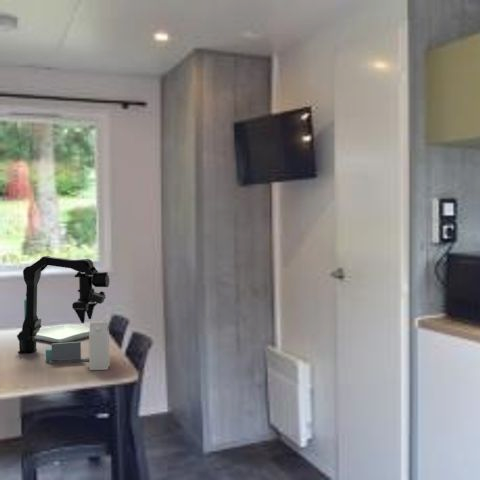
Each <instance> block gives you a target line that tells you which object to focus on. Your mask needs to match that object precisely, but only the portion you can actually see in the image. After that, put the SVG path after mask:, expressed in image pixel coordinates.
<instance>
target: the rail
mask: <svg viewBox="0 0 480 480" xmlns="http://www.w3.org/2000/svg"><path fill="white" fill-rule="evenodd" d="M48 362H49V365H57V364H58V365H59V364H70V363H71V364H72V363H80V362H81V363H83V362H84V363H85V362H90V361H89V356H81V358H76V359H63V360H52V359H50V360H49V361H48Z"/></svg>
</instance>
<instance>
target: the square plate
mask: <svg viewBox="0 0 480 480" xmlns="http://www.w3.org/2000/svg"><path fill="white" fill-rule="evenodd" d="M89 330H90V326H89V327H88V326H84V325H83V326H82V325H75V324H74V325H73V324H68V323H67V324H65V323H64V324H59V325H54V326H49V327H43V328H42V327H41V328H40V330H39V332H37V334H36V336H35V340H39V341H44V342H51V343H68V342H74V341H76V340H80V339H85V338H89Z"/></svg>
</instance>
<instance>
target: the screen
mask: <svg viewBox="0 0 480 480" xmlns="http://www.w3.org/2000/svg"><path fill="white" fill-rule="evenodd" d="M81 343H82V342H81V341H69V342H64V343H55V342H53V343H51V347H52V360H63V359H76V358H81V357H82V346H81Z"/></svg>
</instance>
